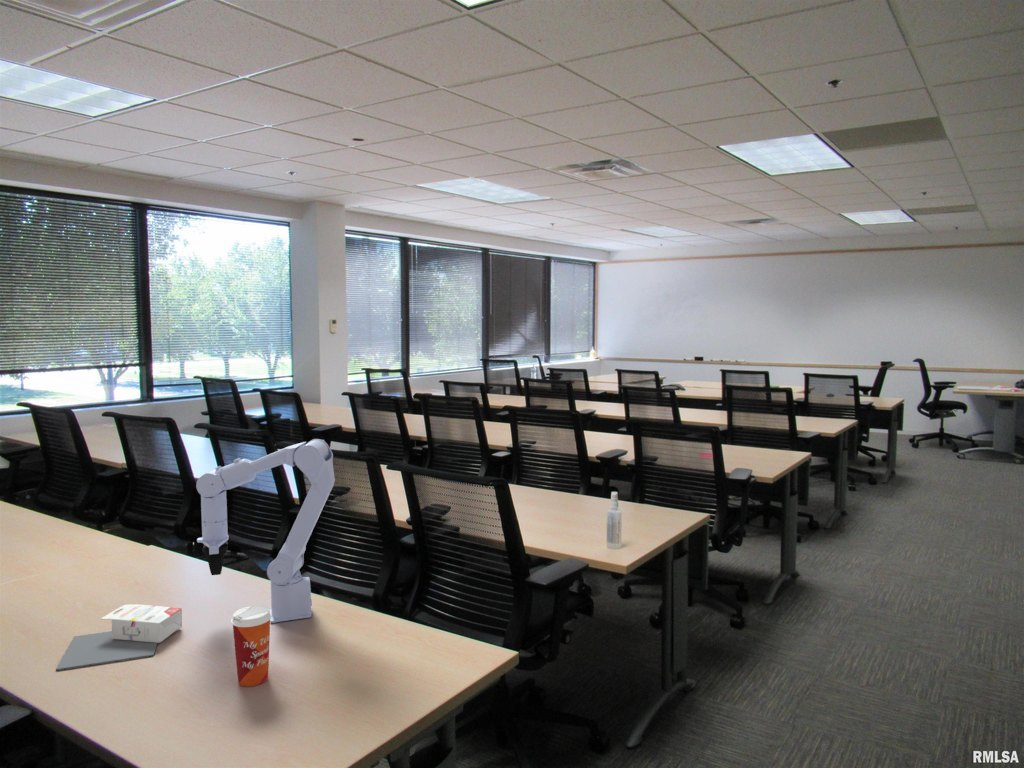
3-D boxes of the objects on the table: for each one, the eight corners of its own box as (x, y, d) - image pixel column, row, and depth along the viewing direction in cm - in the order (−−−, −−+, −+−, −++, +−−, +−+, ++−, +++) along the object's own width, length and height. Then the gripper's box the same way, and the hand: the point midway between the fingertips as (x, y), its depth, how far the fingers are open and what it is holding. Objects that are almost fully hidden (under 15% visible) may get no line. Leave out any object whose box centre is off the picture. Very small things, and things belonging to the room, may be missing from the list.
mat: (162, 625, 161) (162, 624, 161) (153, 656, 146) (153, 654, 146) (74, 638, 155) (74, 636, 155) (55, 671, 140) (55, 669, 140)
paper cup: (249, 693, 132) (247, 623, 130) (224, 682, 136) (222, 614, 135) (282, 676, 138) (280, 609, 137) (257, 666, 142) (255, 601, 141)
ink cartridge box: (182, 628, 160) (125, 622, 162) (182, 607, 159) (125, 602, 161) (158, 644, 151) (99, 638, 153) (158, 623, 151) (98, 617, 153)
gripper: (198, 513, 171) (200, 566, 172) (194, 529, 157) (196, 586, 158) (228, 511, 173) (230, 562, 174) (227, 526, 160) (229, 582, 161)
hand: (216, 574), depth 167 cm, fingers closed
